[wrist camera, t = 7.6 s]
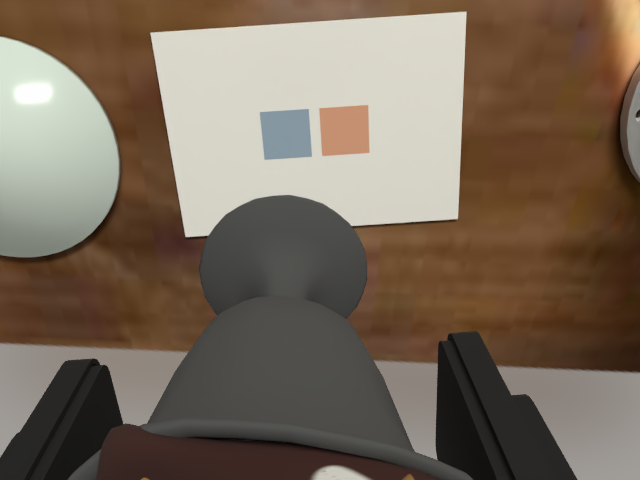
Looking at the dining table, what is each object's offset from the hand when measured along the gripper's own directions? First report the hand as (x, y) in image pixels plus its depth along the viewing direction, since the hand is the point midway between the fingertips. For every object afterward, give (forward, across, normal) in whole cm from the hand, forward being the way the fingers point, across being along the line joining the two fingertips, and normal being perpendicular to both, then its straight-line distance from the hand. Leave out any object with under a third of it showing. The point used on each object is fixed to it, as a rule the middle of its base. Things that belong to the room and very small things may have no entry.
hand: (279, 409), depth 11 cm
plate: (+24, +17, 0) cm, 29 cm away
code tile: (+24, -1, 0) cm, 24 cm away
